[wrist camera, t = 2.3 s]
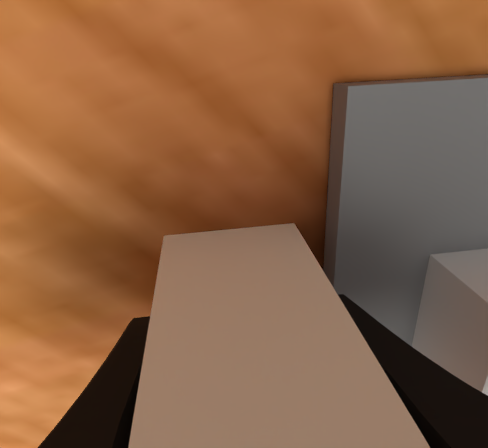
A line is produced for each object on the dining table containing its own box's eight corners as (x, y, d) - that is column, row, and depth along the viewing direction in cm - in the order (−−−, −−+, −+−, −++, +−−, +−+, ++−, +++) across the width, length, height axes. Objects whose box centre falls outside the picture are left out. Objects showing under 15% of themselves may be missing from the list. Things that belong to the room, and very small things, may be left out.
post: (294, 223, 11) (475, 523, 4) (292, 324, 13) (418, 663, 6) (163, 235, 11) (103, 591, 4) (180, 338, 13) (161, 718, 5)
